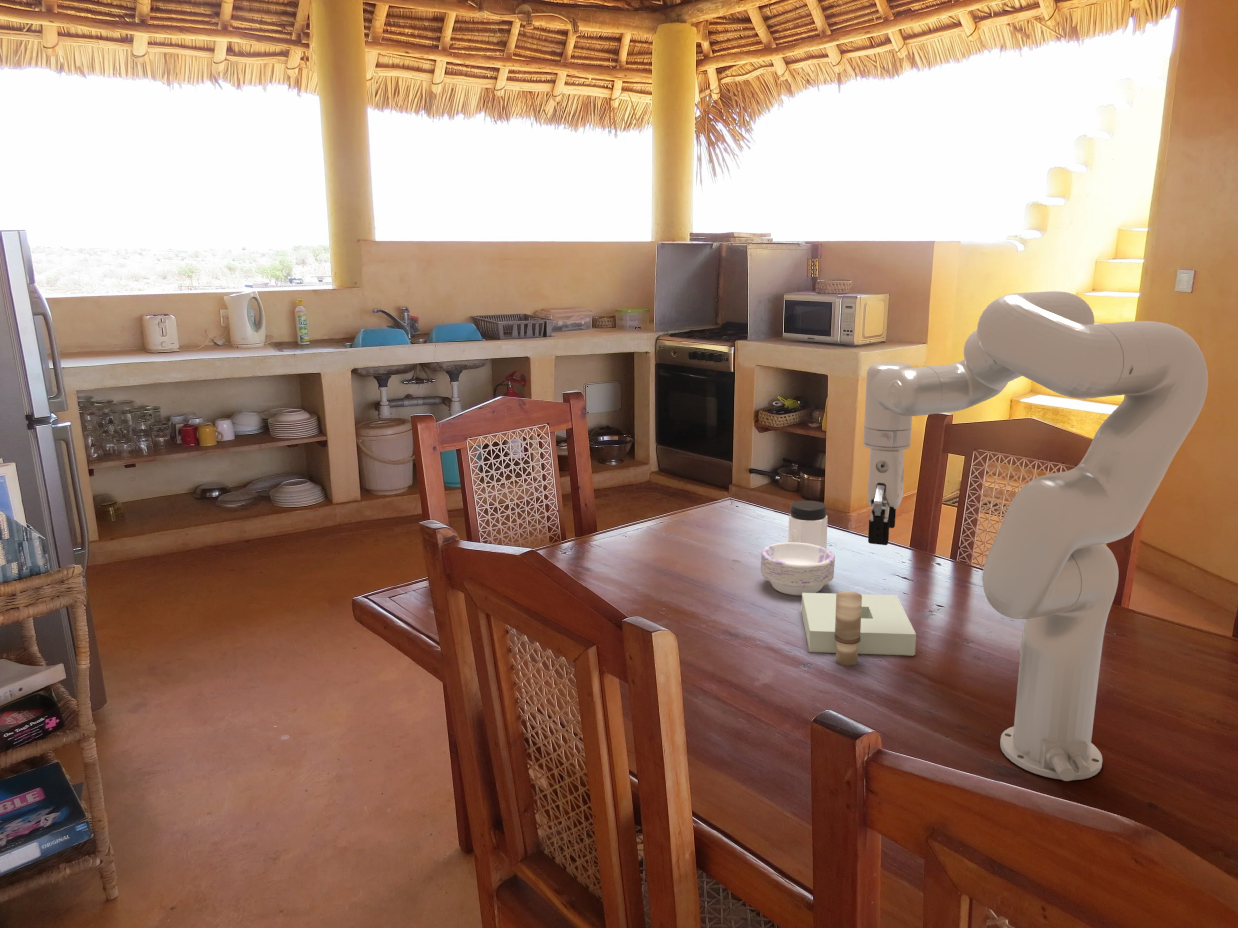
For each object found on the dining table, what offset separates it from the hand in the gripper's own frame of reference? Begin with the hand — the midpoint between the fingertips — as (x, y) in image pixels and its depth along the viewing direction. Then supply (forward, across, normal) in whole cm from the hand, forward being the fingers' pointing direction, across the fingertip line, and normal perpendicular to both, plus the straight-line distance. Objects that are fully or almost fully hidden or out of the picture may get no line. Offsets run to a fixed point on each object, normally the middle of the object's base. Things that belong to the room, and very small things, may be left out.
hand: (881, 535), depth 146 cm
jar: (+22, +47, +22) cm, 56 cm away
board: (+21, +6, +4) cm, 23 cm away
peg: (+21, -6, +4) cm, 23 cm away
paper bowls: (+22, +25, +19) cm, 38 cm away
